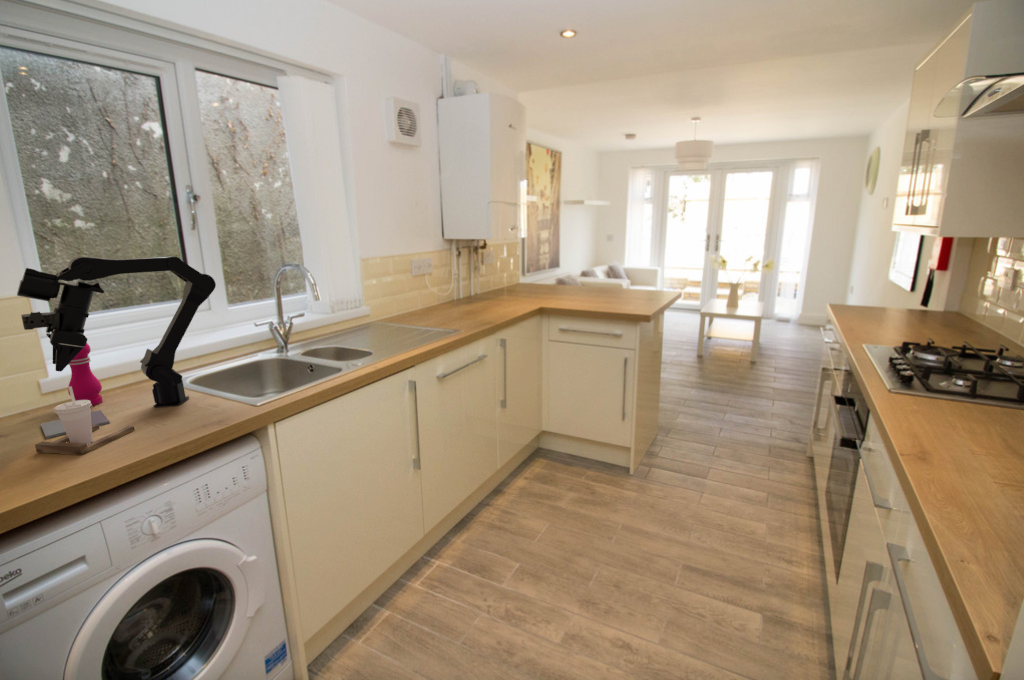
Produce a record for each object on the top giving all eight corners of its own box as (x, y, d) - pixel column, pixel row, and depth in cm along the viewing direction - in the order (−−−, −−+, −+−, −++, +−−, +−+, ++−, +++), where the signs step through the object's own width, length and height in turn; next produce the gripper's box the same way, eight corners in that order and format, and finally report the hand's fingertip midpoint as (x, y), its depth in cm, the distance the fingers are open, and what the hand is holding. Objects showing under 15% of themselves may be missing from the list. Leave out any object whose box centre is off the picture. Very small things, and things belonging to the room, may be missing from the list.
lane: (93, 428, 123) (92, 420, 122) (134, 430, 121) (132, 422, 121) (36, 452, 110) (34, 444, 109) (81, 455, 108) (79, 446, 108)
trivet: (100, 411, 134) (100, 409, 133) (109, 423, 126) (109, 420, 126) (40, 425, 125) (40, 423, 125) (46, 438, 117) (45, 436, 117)
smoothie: (79, 450, 110) (64, 392, 107) (56, 448, 112) (41, 390, 108) (107, 438, 117) (93, 382, 113) (85, 436, 118) (71, 381, 115)
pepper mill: (77, 409, 135) (60, 339, 131) (67, 405, 139) (51, 336, 134) (109, 401, 141) (94, 334, 137) (99, 398, 145) (84, 331, 140)
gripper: (27, 294, 122) (10, 355, 121) (31, 301, 109) (11, 370, 108) (85, 305, 130) (69, 362, 129) (95, 313, 117) (77, 376, 116)
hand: (56, 367), depth 121 cm, fingers open, 9 cm apart
